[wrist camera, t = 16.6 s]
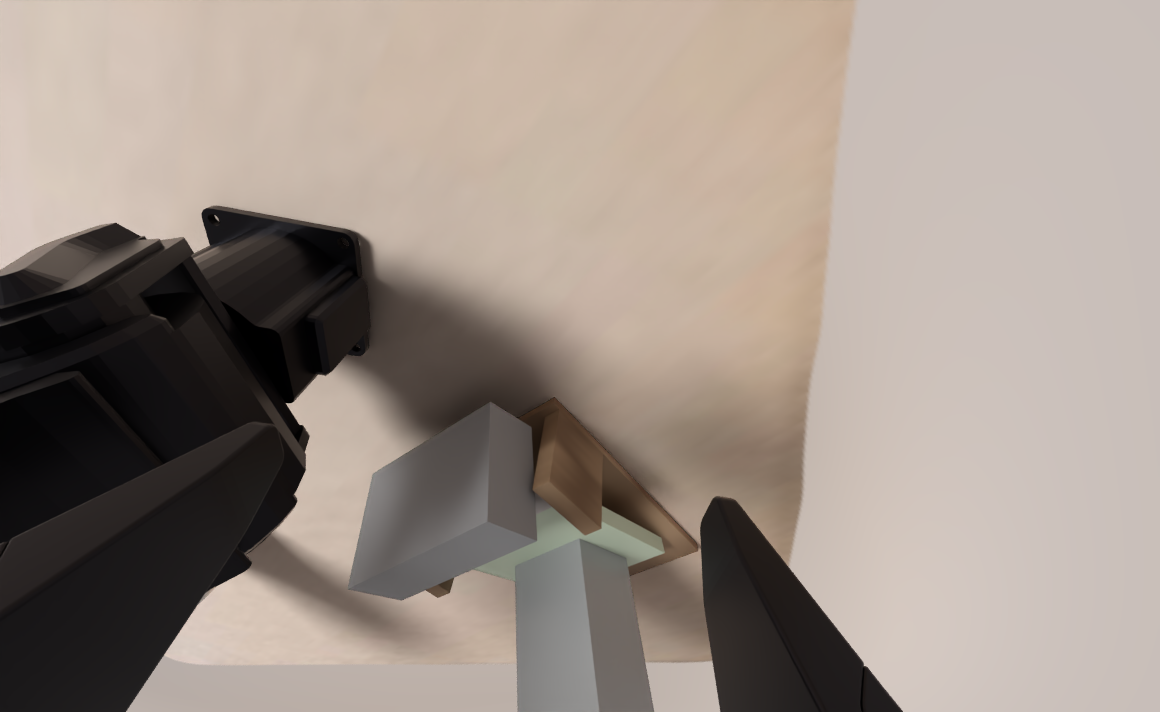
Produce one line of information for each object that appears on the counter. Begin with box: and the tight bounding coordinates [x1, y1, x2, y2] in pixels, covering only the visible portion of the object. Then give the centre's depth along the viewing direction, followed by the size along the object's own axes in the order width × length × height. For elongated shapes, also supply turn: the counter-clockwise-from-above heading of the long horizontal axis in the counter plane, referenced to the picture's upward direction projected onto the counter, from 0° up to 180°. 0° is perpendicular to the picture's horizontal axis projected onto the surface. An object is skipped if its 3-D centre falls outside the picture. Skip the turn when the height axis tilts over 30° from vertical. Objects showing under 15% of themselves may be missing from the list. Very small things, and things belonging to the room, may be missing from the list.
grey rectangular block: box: [515, 538, 654, 712], centre depth 25 cm, size 5×5×12 cm
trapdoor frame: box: [426, 397, 698, 598], centre depth 28 cm, size 16×12×6 cm
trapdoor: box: [348, 402, 665, 600], centre depth 27 cm, size 16×9×6 cm, turn 38°
